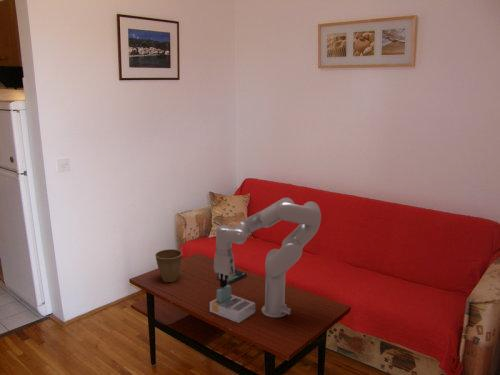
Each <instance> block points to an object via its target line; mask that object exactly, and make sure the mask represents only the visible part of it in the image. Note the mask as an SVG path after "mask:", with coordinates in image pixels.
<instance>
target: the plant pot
mask: <svg viewBox="0 0 500 375" xmlns="http://www.w3.org/2000/svg"><path fill="white" fill-rule="evenodd" d="M154 254H155V260H156V264H157V268H158V271H159V273H160V277H161V279H162V280H163V282H164V283H167V282H171V283H174V281H175V282H176V281H177V280H178V277H179V273H180V270H181V265H182V260H183V259H182V258H183V252H182V251H181V250H179V249H174V248H172V249H170V248H169V249H163V250H159V251H157V252H156V253H154Z"/></svg>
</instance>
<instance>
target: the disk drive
mask: <svg viewBox="0 0 500 375" xmlns="http://www.w3.org/2000/svg"><path fill="white" fill-rule="evenodd" d="M232 274H233V277H232V278H228V279H227V285H232V284H234V283H236V282H238V281H241V280H243V279H245V278H247V276H248V275H247V272H244V271H241V270H238V269H237V268H235V272H234V273H232ZM216 280H217V281H219V282H220V279H219V276H218V275H217V276H216Z"/></svg>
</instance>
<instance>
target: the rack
mask: <svg viewBox="0 0 500 375" xmlns="http://www.w3.org/2000/svg"><path fill="white" fill-rule="evenodd" d="M209 312H210V313H213V314H214V315H215V314H216V315H218V316H220V317H222V318H225V319H228V320H230V321H232V322H236V323H238V324H240V323H241V322H243V321H245V320H246V319H247V318H249V317H251V316H252V315H254V314H255V313H256V302H254V301H252V300H251V301H250V300H248V299H245V298H243V297H239V296H237V295H233V294H231V299H229V300H227V301H225V302H224V303H222V304H220V303H217V297H216V298H215V299H213V300H211V301H209Z"/></svg>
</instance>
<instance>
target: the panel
mask: <svg viewBox="0 0 500 375" xmlns="http://www.w3.org/2000/svg"><path fill="white" fill-rule="evenodd" d="M231 295H232V286H231V284H227V286H225V287H223V288H222V287H220V288H218V289H216V298H217V303H220V304H222V303H224V302H225V301H227V300H229V299H231Z"/></svg>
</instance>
